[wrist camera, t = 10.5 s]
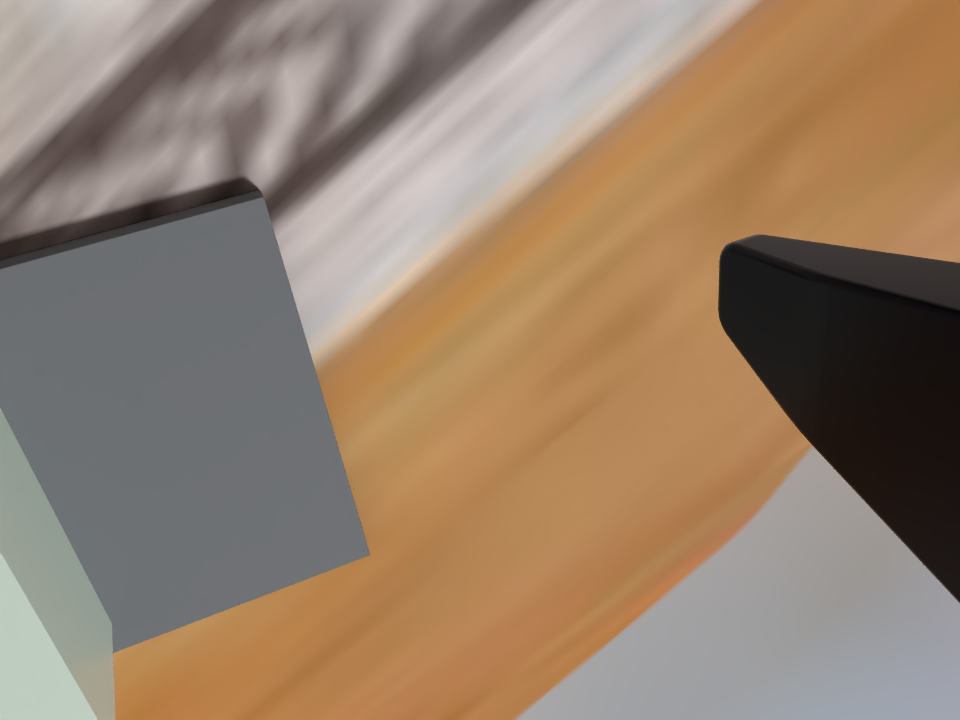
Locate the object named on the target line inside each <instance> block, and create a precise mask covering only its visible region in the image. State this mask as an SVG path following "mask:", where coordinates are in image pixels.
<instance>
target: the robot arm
mask: <svg viewBox="0 0 960 720" xmlns="http://www.w3.org/2000/svg"><path fill="white" fill-rule="evenodd" d="M718 312H719V318H720V322H721V325H722V327H723V329H724V331H725V332H726V334H727V335H728V337H729V338H730V339H731V341H732V342H733V343H734V345H735V346H736V347H737V349H738V350H739V351H740V353H741V354H742V356H743V357H744V358H745V360H746V361H747V362H748V364H749V365H750V366H751V368H752V369H753V370H754V372H755V373H756V374H757V376H758V377H759V378H760V380H761V381H762V382H763V384H764V385H765V386H766V388H767V389H768V390H769V392H770V393H771V394H772V396H773V397H774V398H775V400H776V401H777V402H778V404H779V405H780V406H781V408H782V409H783V411H784V412H785V413H786V414H787V416H788V417H789V418H790V419H791V421H792V422H793V423H794V424H795V426H796V427H797V428H798V429H799V431H800V432H801V433H802V434H803V435H804V436H805V437H806V439H807V440H808V441H809V442H810V443H811V444H812V445H813V446H814V447H815V449H816V450H817V451H818V452H819V453H820V454H821V455H822V456H823V457H824V458H825V459H826V460H827V461H828V462H829V464H830V465H831V466H832V467H833V468H834V469H835V470H836V471H837V472H838V473H839V474H840V475H841V476H842V478H844V480H845V481H846V482H847V483H848V484H849V485H850V486H851V487H852V488H853V489H854V490H855V491H856V492H857V494H858V495H859V496H860V497H861V498H862V499H863V500H864V501H865V502H866V503H867V504H868V505H869V506H870V508H871V509H872V510H873V511H874V512H875V513H876V514H877V515H878V516H879V517H880V518H881V519H882V520H883V521H884V522H885V524H886V525H887V526H888V527H889V528H890V529H891V530H892V531H893V532H894V533H895V534H896V535H897V536H898V538H900V539H901V541H902V542H903V543H904V544H905V545H906V546H907V547H908V548H909V549H910V550H911V551H912V552H913V554H914V555H915V556H916V557H917V558H918V559H919V560H920V561H921V562H922V563H923V564H924V565H925V566H926V568H927V569H928V570H929V571H930V572H931V573H932V574H933V575H934V576H935V577H936V578H937V579H938V580H939V581H940V583H941V584H942V585H943V586H944V587H945V588H946V589H947V590H948V591H949V592H950V593H951V594H952V595H953V596H954V598H956V600H957V601H958V602H959V603H960V263H955V262H949V261H942V260H935V259H928V258H921V257H914V256H907V255H900V254H893V253H886V252H879V251H872V250H866V249H859V248H852V247H845V246H838V245H831V244H824V243H817V242H810V241H803V240H796V239H789V238H782V237H776V236H769V235H753V236H750V237H747V238H744V239H741V240H738V241H734V242H731V243H729V244H727V245H726V246H725V247H724V248H723V250H722V252H721V255H720V262H719V300H718Z"/></svg>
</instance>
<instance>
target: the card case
mask: <svg viewBox="0 0 960 720" xmlns="http://www.w3.org/2000/svg"><path fill="white" fill-rule="evenodd" d="M0 720H115V696H114V668H113V640H112V623H111V621H110V619H109V617H108V615H107V613H106V611H105V609H104V607H103V606H102V604H101V602H100V600H99V598H98V596H97V594H96V592H95V590H94V588H93V586H92V584H91V582H90V580H89V578H88V576H87V575H86V573H85V571H84V569H83V567H82V565H81V563H80V561H79V559H78V557H77V555H76V553H75V551H74V549H73V547H72V546H71V544H70V542H69V540H68V538H67V536H66V534H65V532H64V530H63V528H62V526H61V524H60V522H59V520H58V518H57V516H56V515H55V513H54V511H53V509H52V507H51V505H50V503H49V501H48V499H47V497H46V495H45V493H44V491H43V489H42V487H41V486H40V484H39V482H38V480H37V478H36V476H35V474H34V472H33V470H32V468H31V466H30V464H29V462H28V460H27V458H26V456H25V455H24V453H23V451H22V449H21V447H20V445H19V443H18V441H17V439H16V437H15V435H14V433H13V431H12V429H11V427H10V426H9V424H8V422H7V420H6V418H5V416H4V414H3V412H2V410H1V408H0Z"/></svg>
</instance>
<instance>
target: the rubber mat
mask: <svg viewBox="0 0 960 720" xmlns="http://www.w3.org/2000/svg"><path fill="white" fill-rule="evenodd" d="M0 408H1V410H2V412H3V414H4V416H5V418H6V420H7V422H8V424H9V426H10V427H11V429H12V431H13V433H14V435H15V437H16V439H17V441H18V443H19V445H20V447H21V449H22V451H23V453H24V455H25V456H26V458H27V460H28V462H29V464H30V466H31V468H32V470H33V472H34V474H35V476H36V478H37V480H38V482H39V484H40V486H41V487H42V489H43V491H44V493H45V495H46V497H47V499H48V501H49V503H50V505H51V507H52V509H53V511H54V513H55V515H56V516H57V518H58V520H59V522H60V524H61V526H62V528H63V530H64V532H65V534H66V536H67V538H68V540H69V542H70V544H71V546H72V547H73V549H74V551H75V553H76V555H77V557H78V559H79V561H80V563H81V565H82V567H83V569H84V571H85V573H86V575H87V576H88V578H89V580H90V582H91V584H92V586H93V588H94V590H95V592H96V594H97V596H98V598H99V600H100V602H101V604H102V606H103V607H104V609H105V611H106V613H107V615H108V617H109V619H110V621H111V623H112V640H113V653H114V652H117V651H119V650H122V649H125V648H127V647H130V646H132V645H135V644H138V643H140V642H143V641H146V640H148V639H151V638H153V637H156V636H159V635H161V634H164V633H167V632H169V631H172V630H174V629H177V628H180V627H182V626H185V625H188V624H190V623H193V622H195V621H198V620H201V619H203V618H206V617H209V616H211V615H214V614H216V613H219V612H222V611H224V610H227V609H230V608H232V607H235V606H237V605H240V604H243V603H245V602H248V601H251V600H253V599H256V598H258V597H261V596H264V595H266V594H269V593H272V592H274V591H277V590H279V589H282V588H285V587H287V586H290V585H293V584H295V583H298V582H300V581H303V580H306V579H308V578H311V577H314V576H316V575H319V574H321V573H324V572H327V571H329V570H332V569H335V568H337V567H340V566H342V565H345V564H348V563H350V562H353V561H356V560H358V559H361V558H363V557H366V556H369V555H370V552H369V549H368V546H367V542H366V539H365V536H364V532H363V529H362V526H361V522H360V519H359V516H358V512H357V509H356V505H355V502H354V499H353V495H352V492H351V489H350V485H349V482H348V479H347V475H346V472H345V469H344V465H343V462H342V458H341V455H340V452H339V448H338V445H337V442H336V438H335V435H334V432H333V428H332V425H331V422H330V418H329V415H328V411H327V408H326V405H325V401H324V398H323V395H322V391H321V388H320V385H319V381H318V378H317V375H316V371H315V368H314V365H313V361H312V358H311V354H310V351H309V348H308V344H307V341H306V338H305V334H304V331H303V328H302V324H301V321H300V318H299V314H298V311H297V307H296V304H295V301H294V297H293V294H292V291H291V287H290V284H289V281H288V277H287V274H286V271H285V267H284V264H283V260H282V257H281V254H280V250H279V247H278V244H277V240H276V237H275V234H274V230H273V227H272V224H271V220H270V217H269V214H268V210H267V207H266V203H265V200H264V197H263V195H262V193H261V191H260V190H257V191H253V192H249V193H246V194H242V195H238V196H235V197H231V198H227V199H224V200H220V201H216V202H213V203H209V204H205V205H202V206H198V207H194V208H191V209H187V210H183V211H180V212H176V213H172V214H169V215H165V216H161V217H158V218H154V219H150V220H147V221H143V222H139V223H136V224H132V225H128V226H125V227H121V228H117V229H113V230H110V231H106V232H102V233H99V234H95V235H91V236H88V237H84V238H80V239H77V240H73V241H69V242H66V243H62V244H58V245H55V246H51V247H47V248H44V249H40V250H36V251H33V252H29V253H25V254H22V255H18V256H14V257H11V258H7V259H3V260H0Z"/></svg>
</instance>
